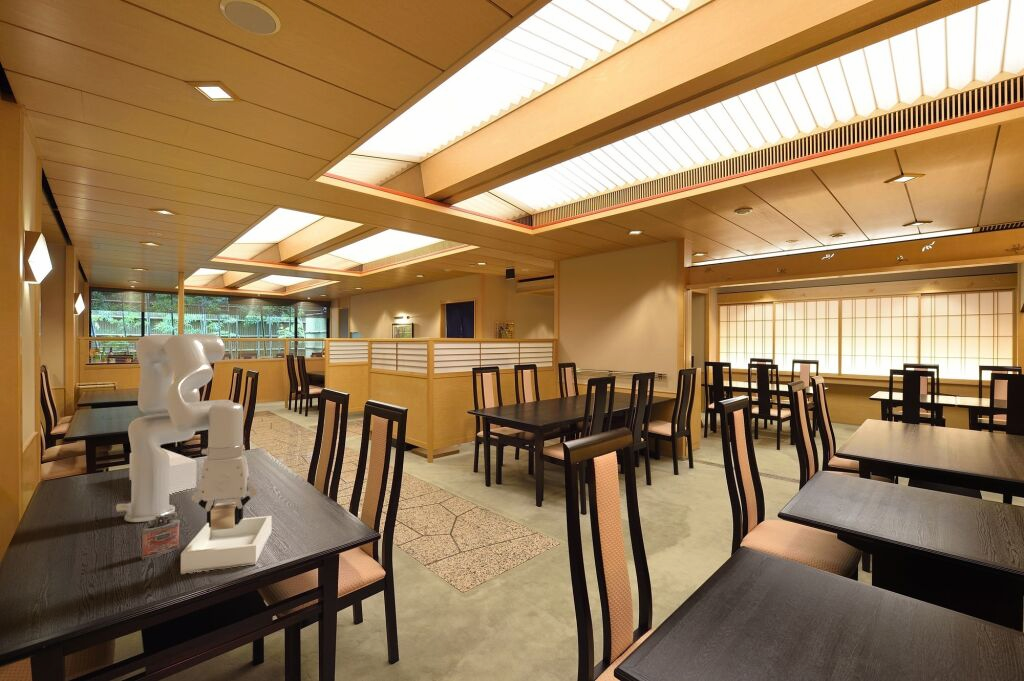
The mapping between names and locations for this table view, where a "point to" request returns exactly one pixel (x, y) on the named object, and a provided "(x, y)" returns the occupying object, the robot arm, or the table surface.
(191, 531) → the table surface
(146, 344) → the robot arm
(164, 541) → the lighter
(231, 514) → the cube
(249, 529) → the tote
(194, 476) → the white long block
